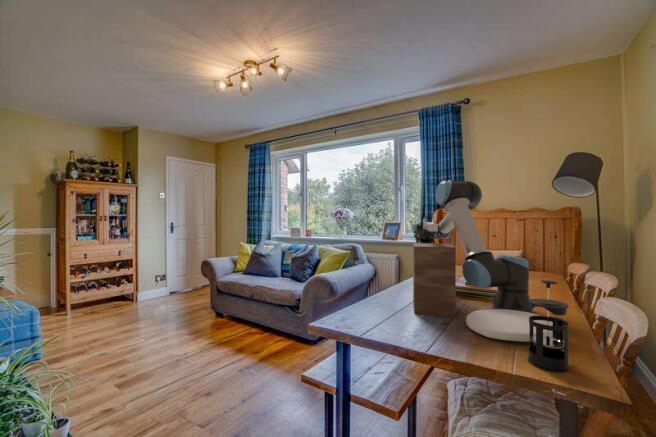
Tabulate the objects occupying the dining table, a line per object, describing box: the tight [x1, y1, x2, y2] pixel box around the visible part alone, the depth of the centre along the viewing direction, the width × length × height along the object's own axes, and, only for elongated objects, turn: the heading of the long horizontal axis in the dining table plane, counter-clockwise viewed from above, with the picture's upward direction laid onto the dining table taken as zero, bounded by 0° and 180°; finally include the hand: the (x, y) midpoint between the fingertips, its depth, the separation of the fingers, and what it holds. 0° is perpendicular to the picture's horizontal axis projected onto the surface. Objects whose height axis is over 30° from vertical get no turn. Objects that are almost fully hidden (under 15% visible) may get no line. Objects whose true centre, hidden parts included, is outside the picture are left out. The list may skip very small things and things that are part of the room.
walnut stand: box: [412, 242, 457, 318], centre depth 135 cm, size 16×16×28 cm
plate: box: [465, 308, 553, 343], centre depth 110 cm, size 28×6×27 cm
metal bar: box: [425, 221, 439, 231], centre depth 147 cm, size 32×4×3 cm, turn 167°
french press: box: [527, 279, 571, 373], centre depth 86 cm, size 12×9×23 cm
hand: (428, 220), depth 153 cm, fingers closed on metal bar, 3 cm apart
